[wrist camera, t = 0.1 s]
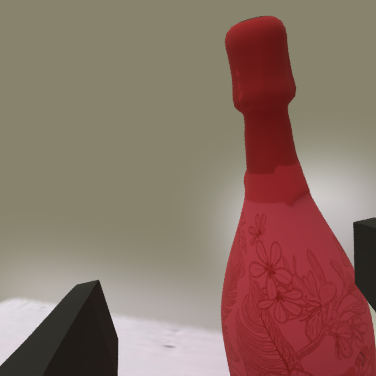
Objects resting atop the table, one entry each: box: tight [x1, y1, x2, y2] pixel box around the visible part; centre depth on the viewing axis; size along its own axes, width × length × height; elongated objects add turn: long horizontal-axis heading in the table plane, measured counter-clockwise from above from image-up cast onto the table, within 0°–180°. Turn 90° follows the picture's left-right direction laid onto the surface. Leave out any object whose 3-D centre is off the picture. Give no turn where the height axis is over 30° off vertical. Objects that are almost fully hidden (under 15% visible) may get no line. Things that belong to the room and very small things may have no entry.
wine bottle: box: [221, 16, 376, 376], centre depth 22 cm, size 10×10×30 cm
